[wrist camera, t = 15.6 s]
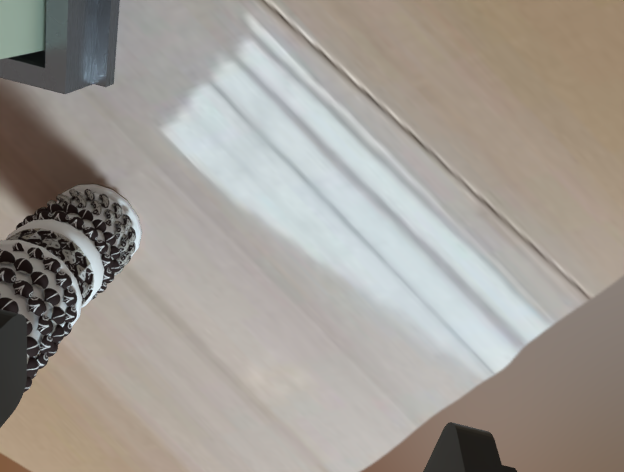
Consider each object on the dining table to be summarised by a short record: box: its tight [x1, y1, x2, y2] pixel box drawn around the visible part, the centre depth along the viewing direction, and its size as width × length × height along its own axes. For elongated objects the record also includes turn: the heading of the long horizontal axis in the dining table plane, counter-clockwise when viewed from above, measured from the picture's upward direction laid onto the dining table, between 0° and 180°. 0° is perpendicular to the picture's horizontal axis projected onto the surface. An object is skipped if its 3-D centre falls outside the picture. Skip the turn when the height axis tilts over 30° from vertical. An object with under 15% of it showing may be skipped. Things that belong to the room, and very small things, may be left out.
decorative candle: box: [0, 184, 142, 392], centre depth 39 cm, size 9×9×25 cm
